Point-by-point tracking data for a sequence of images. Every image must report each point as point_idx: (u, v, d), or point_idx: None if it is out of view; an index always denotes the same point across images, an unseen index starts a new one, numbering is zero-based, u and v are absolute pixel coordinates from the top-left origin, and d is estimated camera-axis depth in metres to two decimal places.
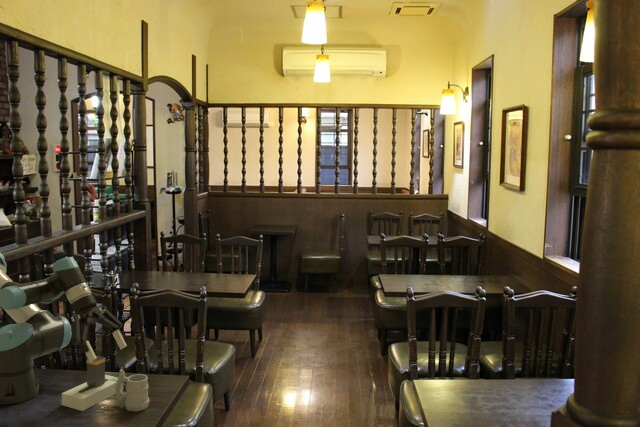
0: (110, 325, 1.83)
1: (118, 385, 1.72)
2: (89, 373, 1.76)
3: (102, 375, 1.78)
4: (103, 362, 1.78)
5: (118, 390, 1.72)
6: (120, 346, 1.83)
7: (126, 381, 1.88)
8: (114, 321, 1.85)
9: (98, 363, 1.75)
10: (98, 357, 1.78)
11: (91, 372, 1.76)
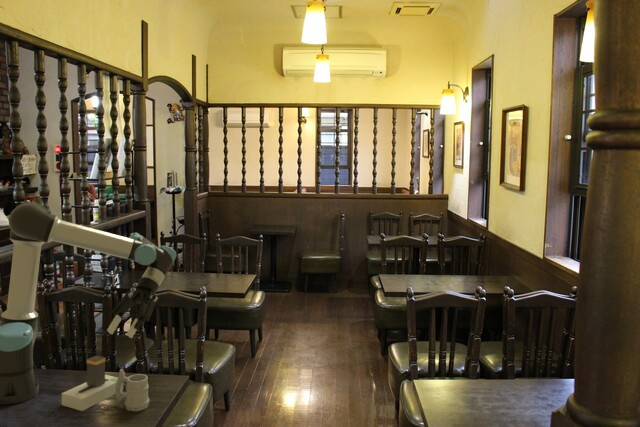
0: (125, 310, 1.94)
1: (118, 385, 1.72)
2: (89, 373, 1.76)
3: (102, 375, 1.78)
4: (103, 362, 1.78)
5: (118, 390, 1.72)
6: (110, 329, 1.88)
7: (126, 381, 1.88)
8: None
9: (98, 363, 1.75)
10: (98, 357, 1.78)
11: (91, 372, 1.76)
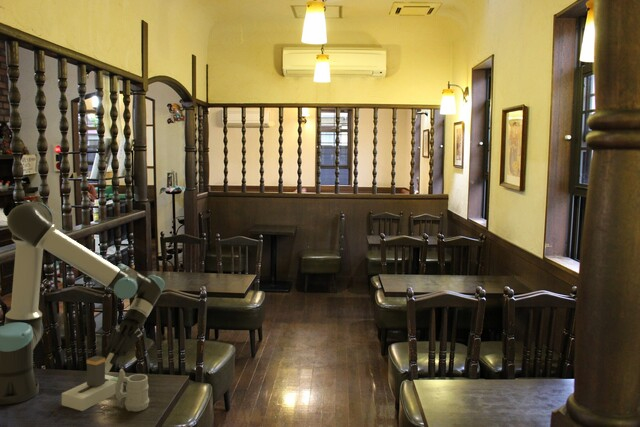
0: (118, 346, 1.87)
1: (118, 385, 1.72)
2: (88, 373, 1.76)
3: (102, 375, 1.78)
4: (103, 362, 1.78)
5: (118, 390, 1.72)
6: None
7: (126, 381, 1.88)
8: None
9: (97, 363, 1.75)
10: (98, 357, 1.78)
11: (91, 373, 1.76)
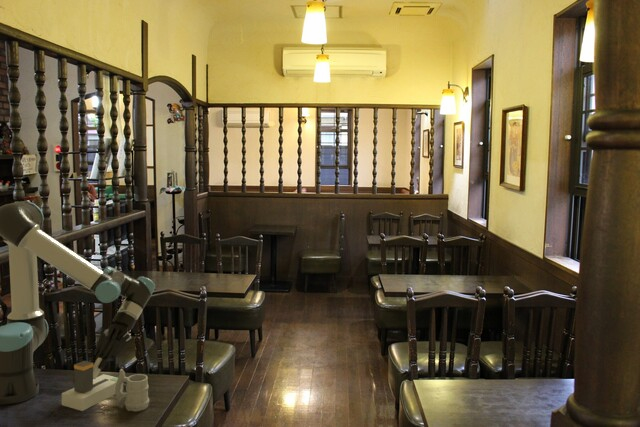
0: None
1: (118, 385, 1.72)
2: (76, 379, 1.71)
3: (90, 381, 1.73)
4: (91, 367, 1.73)
5: (118, 390, 1.72)
6: None
7: (126, 381, 1.88)
8: None
9: (85, 368, 1.71)
10: (86, 362, 1.73)
11: (78, 378, 1.71)
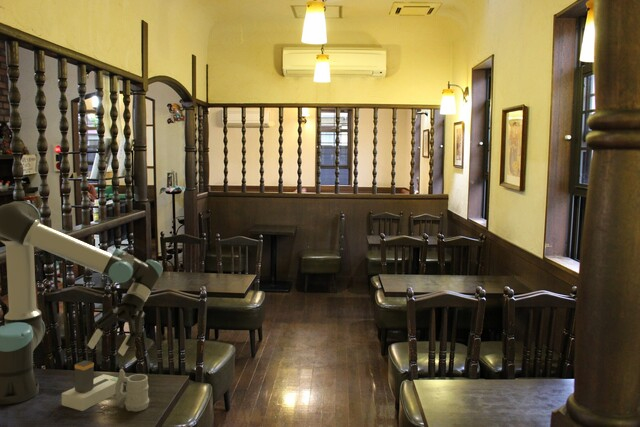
0: (107, 326, 1.87)
1: (118, 385, 1.72)
2: (77, 378, 1.72)
3: (91, 380, 1.73)
4: (91, 367, 1.73)
5: (118, 390, 1.72)
6: (91, 344, 1.82)
7: (126, 381, 1.88)
8: None
9: (86, 368, 1.71)
10: (86, 362, 1.74)
11: (79, 378, 1.71)
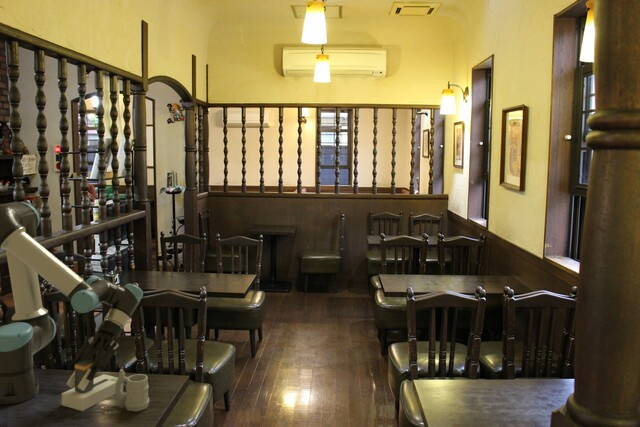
0: (87, 359, 1.77)
1: (118, 385, 1.72)
2: (77, 378, 1.72)
3: (91, 380, 1.73)
4: None
5: (118, 390, 1.72)
6: (70, 383, 1.71)
7: (126, 381, 1.88)
8: None
9: (86, 368, 1.71)
10: (86, 362, 1.74)
11: (79, 378, 1.71)
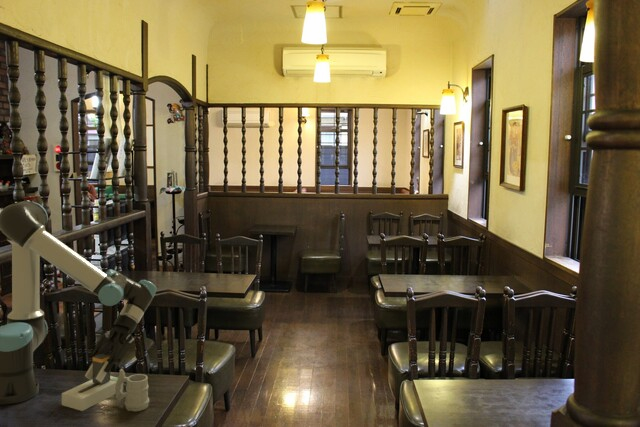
0: (104, 352, 1.84)
1: (118, 385, 1.72)
2: (94, 371, 1.78)
3: (108, 373, 1.80)
4: None
5: (118, 390, 1.72)
6: (88, 375, 1.77)
7: (126, 381, 1.88)
8: (100, 350, 1.85)
9: (103, 360, 1.78)
10: (103, 355, 1.80)
11: (96, 370, 1.78)
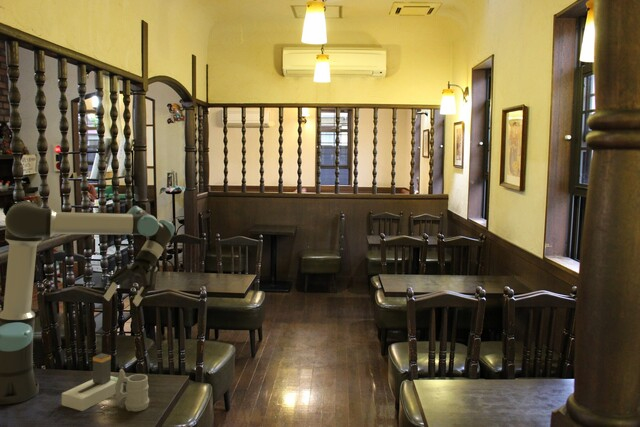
0: (122, 280, 1.97)
1: (118, 385, 1.72)
2: (95, 370, 1.79)
3: (108, 372, 1.80)
4: (109, 360, 1.80)
5: (118, 390, 1.72)
6: (107, 296, 1.92)
7: (126, 381, 1.88)
8: None
9: (103, 360, 1.78)
10: (104, 355, 1.81)
11: (97, 370, 1.78)
